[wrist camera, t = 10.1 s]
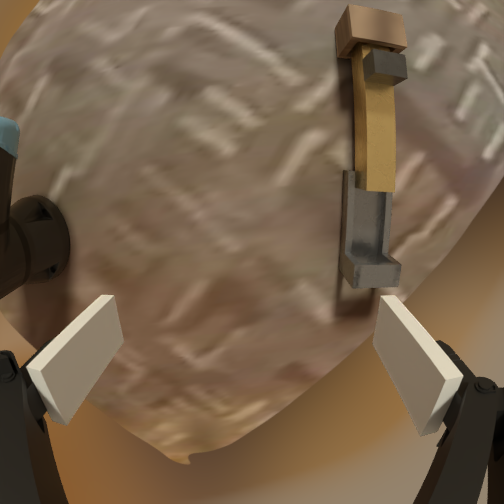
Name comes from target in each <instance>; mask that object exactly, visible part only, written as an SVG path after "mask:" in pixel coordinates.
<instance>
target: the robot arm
mask: <svg viewBox="0 0 504 504" xmlns="http://www.w3.org/2000/svg"><path fill="white" fill-rule="evenodd" d="M19 136H20V129H19V126H18V124H17V123H16V122H15V121H13V120H11V119H8V118H5V117H1V116H0V299H2V298H3V297H5V296H6V295H8V294H9V293H11V292H12V291H14V290H15V289H17V288H18V287H20V286H22V285H23V284H34V283H44V282H47V281H49V280H51V279H53V278H54V277H56V276H58V275H59V274H60V273H61V272H62V271H63V269H64V268H65V266H66V264H67V261H68V257H69V250H70V241H69V233H68V229H67V226H66V223H65V220H64V218H63V216H62V214H61V212H60V211H59V209H58V208H57V207H56V206H55V204H54V203H53V202H51V201H50V200H49V199H47V198H45V197H43V196H39V195H33V196H28V197H24V198H22V199H20V200H18V201H17V202H15V203H14V204H13V205H12V206H11V207H10V205H11V195H12V186H13V178H14V171H15V164H16V159H18V155H17V149H18V142H19ZM123 343H124V339H123V335H122V331H121V326H120V322H119V317H118V312H117V307H116V302H115V297H114V295H101V296H100V297H99V298H98V299H96V300H95V301H94V302H93V303H92V304H91V305H90V306H89V307H88V308H87V309H85V310H84V311H83V312H82V313H81V314H80V315H79V316H78V317H77V318H76V319H75V320H74V321H72V322H71V323H70V324H69V325H68V326H67V327H66V328H65V329H64V330H63V331H62V332H61V333H60V334H59V335H58V336H57V337H55V338H53V339H51V340H49V341H48V342H46V343H45V344H44V345H43V346H42V347H41V348H40V350H38V351H37V352H36V353H35V354H34V355H33V356H32V357H31V358H30V359H29V360H28V361H27V362H26V363H25V364H24V365H23V366H22V367H21V368H19V367H18V364H17V361H16V359H15V356H14V354H13V353H12V352H11V351H7V350H4V351H0V504H69V503H68V501H67V498H66V495H65V492H64V489H63V486H62V483H61V480H60V477H59V473H58V470H57V466H56V462H55V459H54V455H53V451H52V447H51V443H50V438H49V434H48V429H47V424H46V421H45V419H44V417H43V415H44V414H45V412H46V411H47V412H48V414H49V415H50V417H51V419H52V421H54V422H57V423H60V424H63V425H66V426H67V425H68V423H69V422H70V420H71V419H72V417H73V416H74V414H75V412H76V411H77V409H78V408H79V406H80V405H81V403H82V402H83V400H84V399H85V397H86V396H87V394H88V393H89V391H90V390H91V388H92V387H93V386H94V384H95V383H96V381H97V380H98V378H99V377H100V375H101V374H102V372H103V371H104V370H105V368H106V367H107V365H108V364H109V362H110V361H111V360H112V358H113V357H114V355H115V354H116V352H117V351H118V350H119V348H120V347H121V345H122V344H123ZM373 346H374V348H375V350H376V351H377V353H378V355H379V357H380V359H381V361H382V362H383V364H384V366H385V368H386V370H387V372H388V374H389V376H390V377H391V379H392V381H393V383H394V385H395V387H396V389H397V391H398V393H399V395H400V397H401V398H402V401H403V403H404V404H405V407H406V408H407V410H408V413H409V414H410V416H411V419H412V420H413V423H414V425H415V426H416V429H417V430H418V433H419V435H420V436H424V435H428V434H431V433H435V432H437V431H438V429H439V427H440V425H441V424H442V422H444V424H445V425H446V427H447V428H446V430H445V432H444V434H443V436H442V438H441V439H440V441H439V443H438V444H437V447H438V450H437V452H436V455H435V458H434V460H433V462H432V465H431V467H430V469H429V472H428V474H427V476H426V478H425V480H424V482H423V484H422V486H421V489H420V491H419V493H418V495H417V497H416V499H415V500H414V502H413V504H477V501H478V498H479V494H480V491H481V488H482V484H483V480H484V477H485V473H486V469H487V465H488V500H487V504H504V388H498V386H497V385H496V384H495V382H493V381H492V380H490V379H488V378H485V377H475V375H474V374H473V373H472V372H471V371H470V369H469V368H468V367H467V366H466V365H465V363H464V362H463V361H462V360H460V358H459V356H458V355H457V354H455V352H454V351H453V349H452V348H451V347H450V346H449V345H447V344H445V343H444V342H442V341H440V340H439V341H435V340H434V339H433V338H432V337H431V336H430V335H429V333H428V332H427V331H426V330H425V329H424V328H423V326H422V325H421V324H420V323H419V322H418V321H417V320H416V318H415V317H414V316H413V315H412V314H411V313H410V312H409V311H408V309H407V308H406V307H405V306H404V305H403V304H402V303H401V302H400V301H399V299H398V298H397V297H396V296H395V295H390V296H381V298H380V304H379V311H378V317H377V322H376V328H375V334H374V339H373Z"/></svg>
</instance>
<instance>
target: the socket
mask: <svg viewBox="0 0 504 504" xmlns="http://www.w3.org/2000/svg"><path fill="white" fill-rule="evenodd" d="M335 36H336V47H337V58H345V59H351V49H352V48H353V47H354V45H355V44H356V43H357V42H358V41H359V42H366V43H372V44H377V45H383V46H388V47H389V48H390V52H393V53H398V54H399V53H400V52H401V51H403V50H404V49H405V48H407V41H406V35H405V29H404V23H403V18H402V15H400V14H396V13H392V12H387V11H383V10H378V9H373V8H368V7H363V6H357V5H351V4H348V6H347V8H346V9H345V11H344V13H343V15H342V16H341V18H340V20H339V22H338V24H337V26H336V27H335Z"/></svg>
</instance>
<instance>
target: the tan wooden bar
mask: <svg viewBox="0 0 504 504" xmlns="http://www.w3.org/2000/svg"><path fill="white" fill-rule="evenodd" d="M351 61H352V74H353V91H354V115H355V188H358V189H362V190H365V191H379V192H395V169H396V132H395V105H394V89H393V86H394V85H396V84H398V83H400V82H402V81H404V80H405V79H407V68H406V59H405V55H402V54H398V53H393V52H390V48H389V47H388V46H383V45H377V44H372V43H366V42H359V41H358V42H357V43H356V44H355V45H354V47H353V48H352V49H351Z"/></svg>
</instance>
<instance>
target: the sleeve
mask: <svg viewBox="0 0 504 504" xmlns="http://www.w3.org/2000/svg"><path fill="white" fill-rule="evenodd" d="M391 210H392V192H379V191H365V190H362V189H358V188H355V171H346V170H343V206H342V228H341V245H340V259H339V270H340V271H341V273H342V274H343V276H344V277H345V278H346V280H347V281H348V283H349V284H350V286H351V287H352V288H381V287H398V285H399V278H400V271H401V264H400V263H399V262H398V261H396V260H395V259H394V258H393V257H391V256H390V255H389V254H388V246H389V236H390V224H391Z"/></svg>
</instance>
